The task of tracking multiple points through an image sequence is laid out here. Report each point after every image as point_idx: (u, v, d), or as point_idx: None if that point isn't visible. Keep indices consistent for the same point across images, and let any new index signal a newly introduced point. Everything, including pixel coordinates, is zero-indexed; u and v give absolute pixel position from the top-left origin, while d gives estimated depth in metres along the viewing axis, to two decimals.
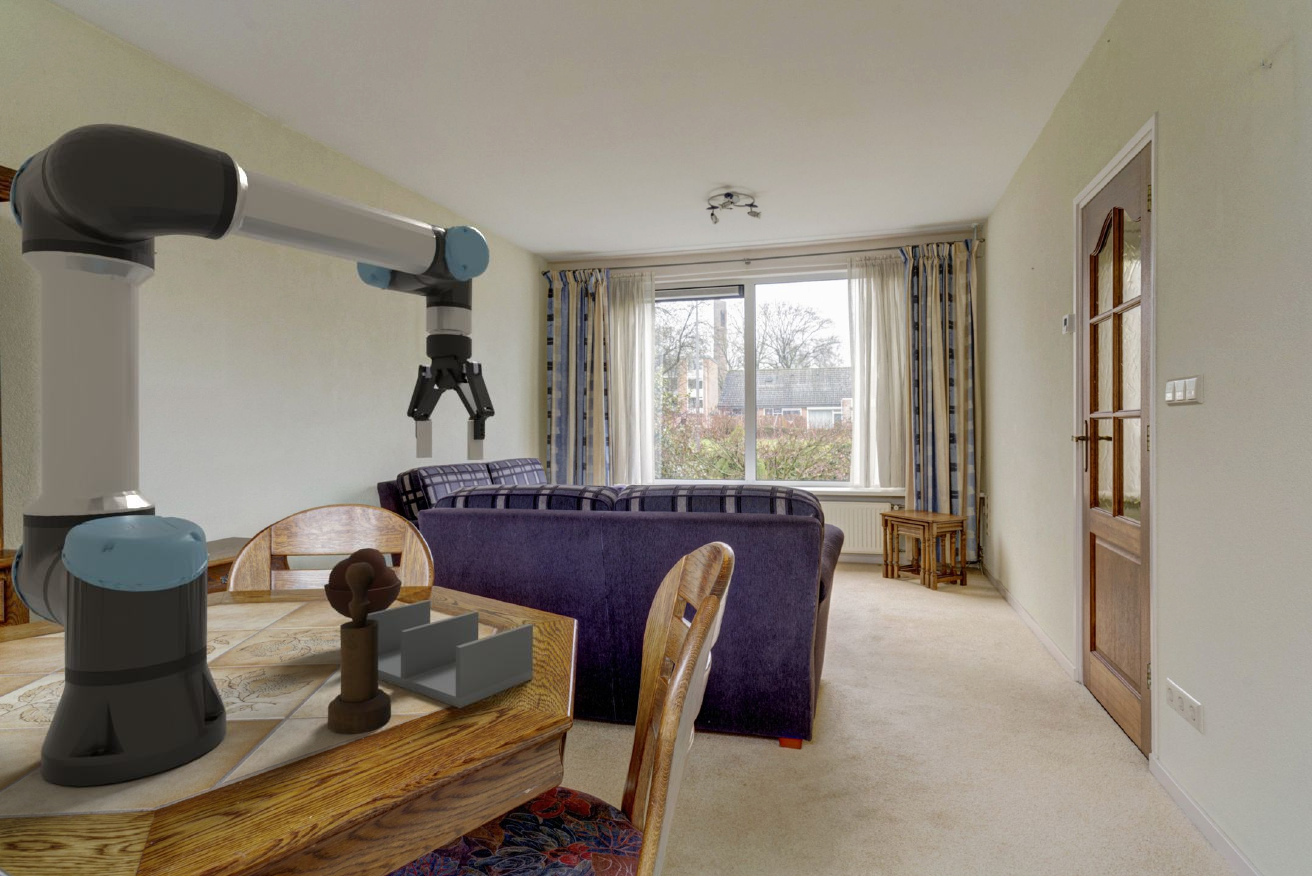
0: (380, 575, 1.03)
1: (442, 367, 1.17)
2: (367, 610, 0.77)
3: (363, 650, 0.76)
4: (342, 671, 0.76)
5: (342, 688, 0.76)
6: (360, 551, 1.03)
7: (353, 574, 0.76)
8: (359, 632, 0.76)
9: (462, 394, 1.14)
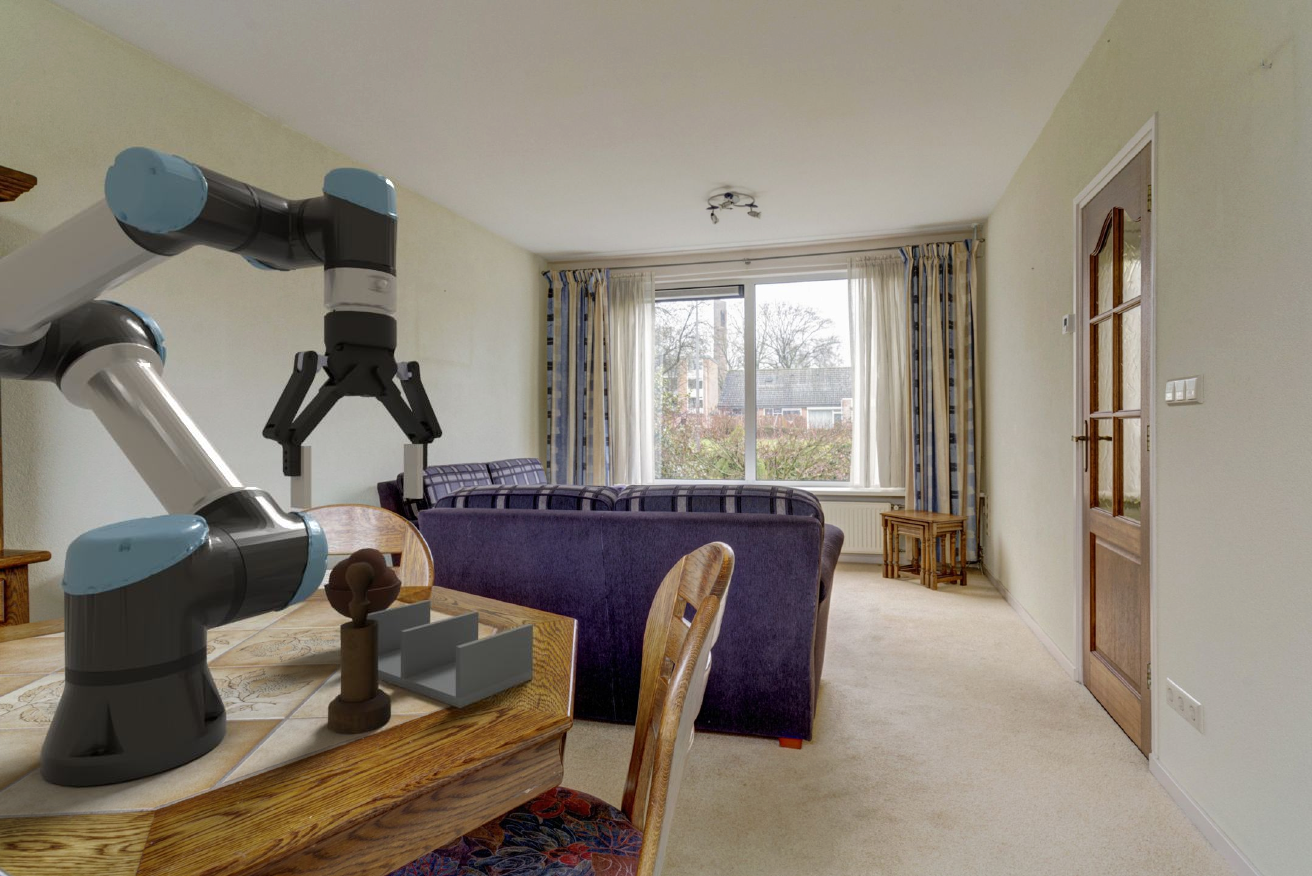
0: (380, 575, 1.03)
1: None
2: (367, 610, 0.77)
3: (363, 650, 0.76)
4: (342, 671, 0.76)
5: (342, 688, 0.76)
6: (360, 551, 1.03)
7: (353, 574, 0.76)
8: (359, 632, 0.76)
9: None
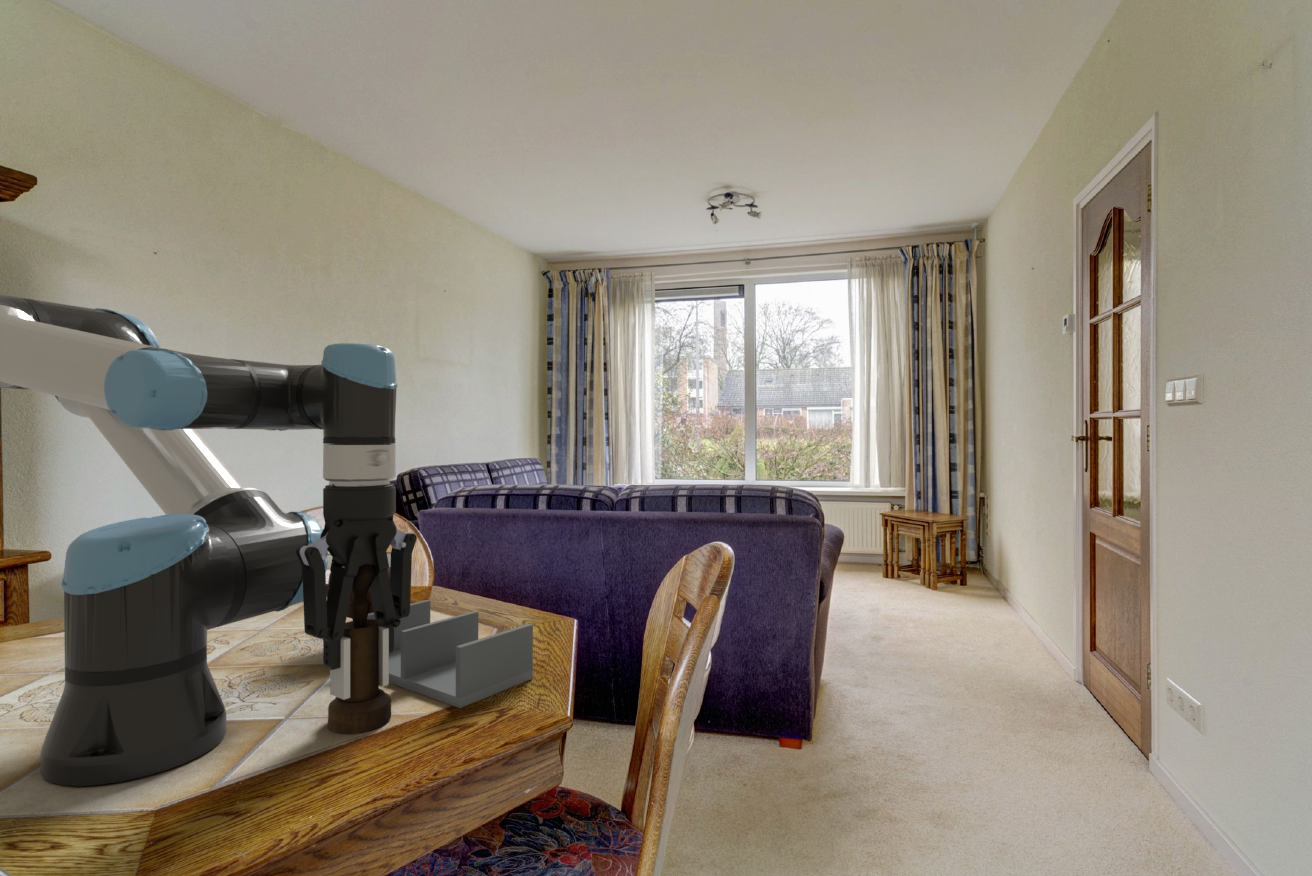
0: None
1: None
2: (367, 610, 0.77)
3: (363, 650, 0.76)
4: None
5: None
6: None
7: None
8: (359, 632, 0.76)
9: None
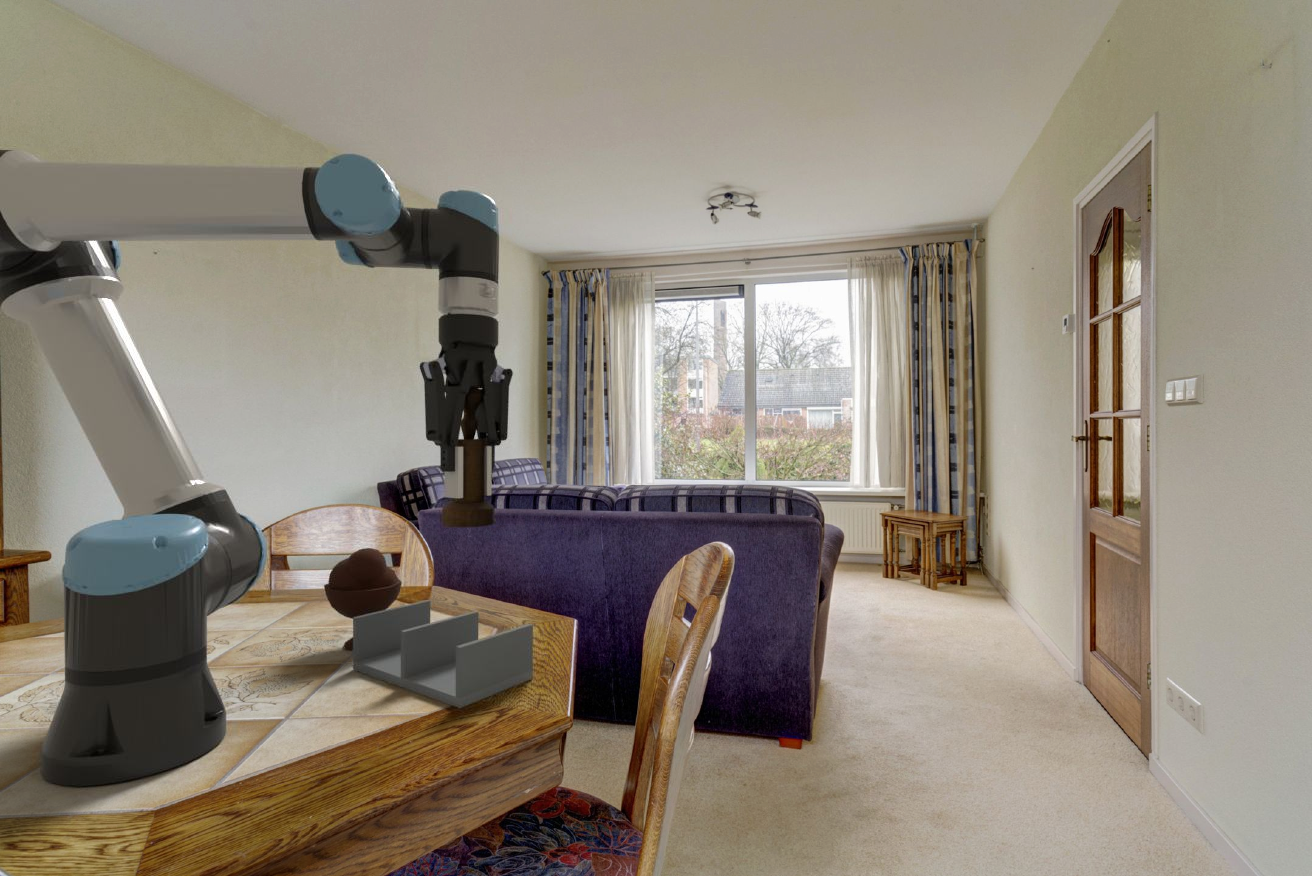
0: (380, 575, 1.03)
1: None
2: (476, 427, 0.89)
3: (474, 458, 0.88)
4: None
5: None
6: (360, 551, 1.03)
7: None
8: (471, 442, 0.87)
9: None
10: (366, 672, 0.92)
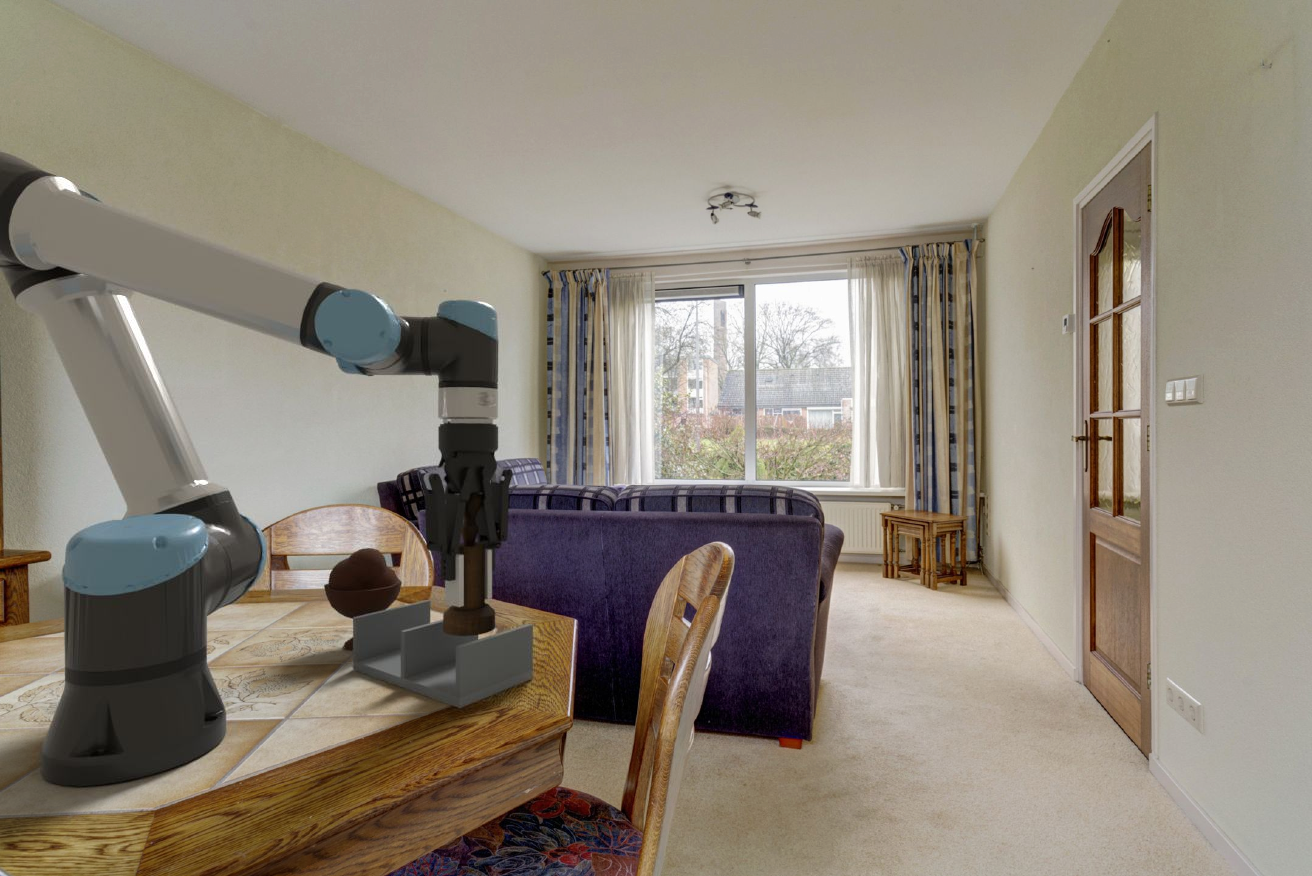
0: (380, 575, 1.03)
1: None
2: (476, 532, 0.89)
3: (474, 565, 0.88)
4: None
5: None
6: (360, 551, 1.03)
7: None
8: (471, 550, 0.88)
9: (446, 512, 0.88)
10: (366, 672, 0.92)
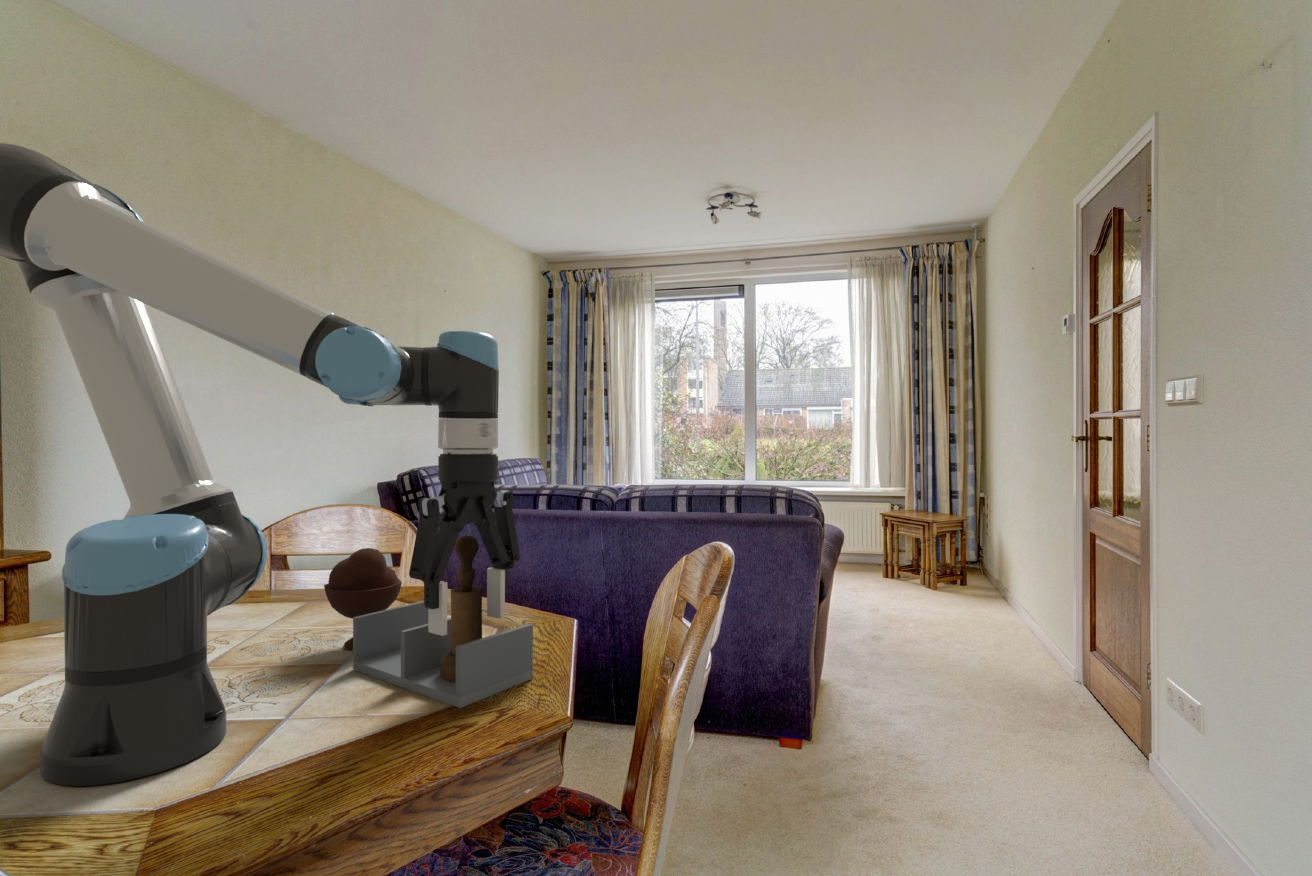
0: (380, 575, 1.03)
1: None
2: (473, 577, 0.89)
3: (471, 611, 0.88)
4: (453, 629, 0.88)
5: (453, 644, 0.88)
6: (360, 551, 1.03)
7: (462, 545, 0.88)
8: (468, 595, 0.87)
9: (437, 539, 0.87)
10: (366, 672, 0.92)
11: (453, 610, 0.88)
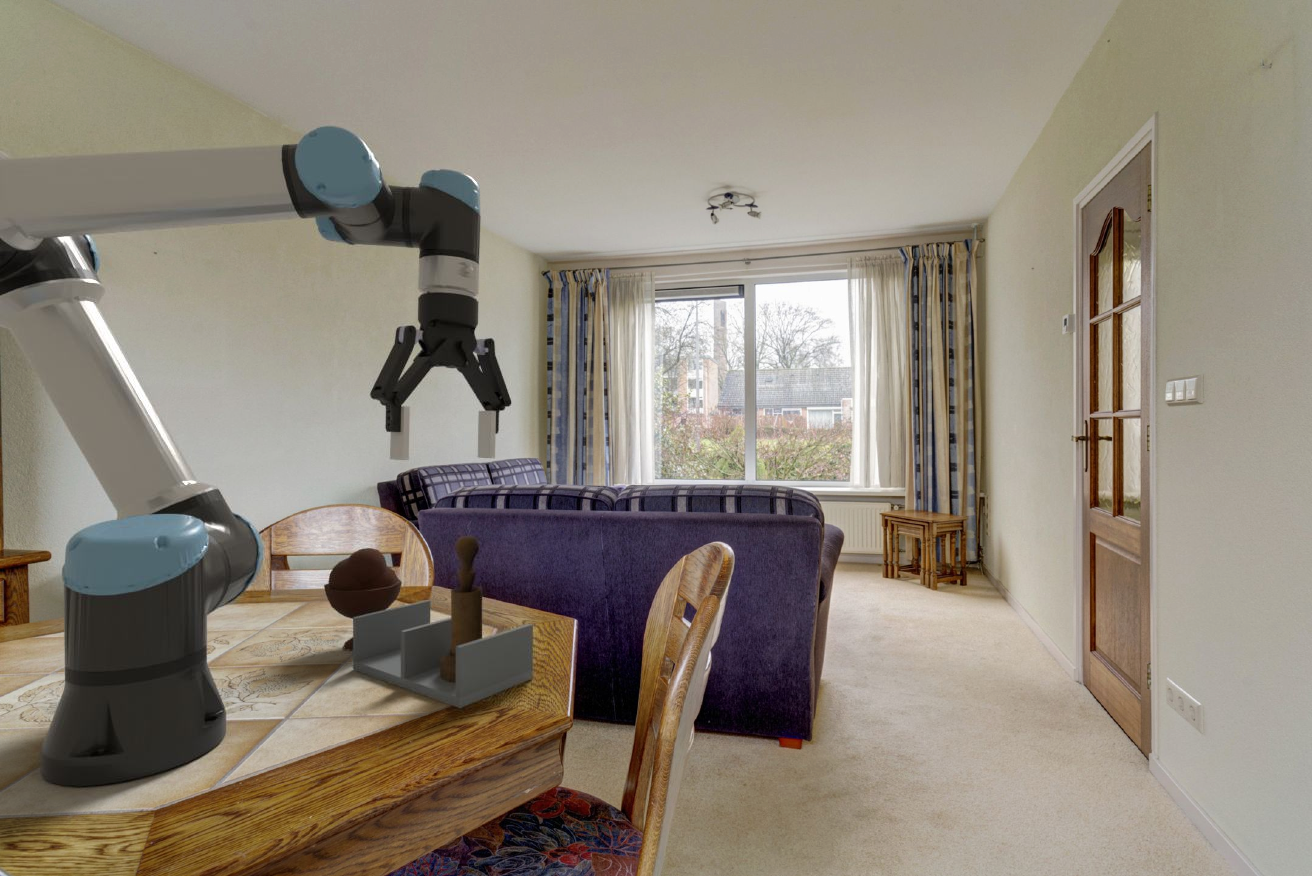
0: (380, 575, 1.03)
1: None
2: (473, 577, 0.89)
3: (472, 611, 0.88)
4: (453, 629, 0.88)
5: (453, 644, 0.88)
6: (360, 551, 1.03)
7: (463, 545, 0.88)
8: (468, 595, 0.87)
9: (408, 372, 0.86)
10: (366, 672, 0.92)
11: (453, 610, 0.88)
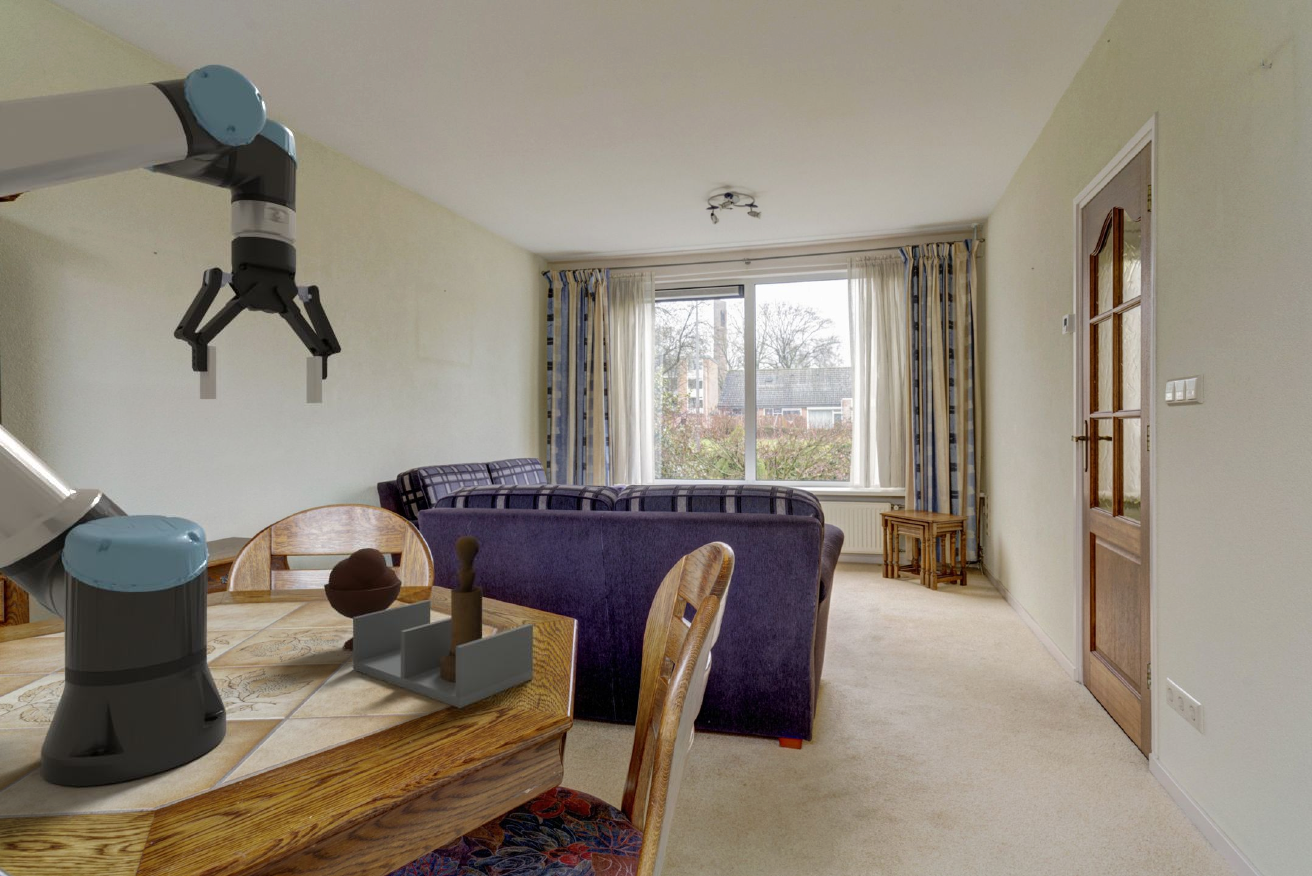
0: (380, 575, 1.03)
1: None
2: (474, 577, 0.89)
3: (472, 611, 0.88)
4: (453, 629, 0.88)
5: (453, 644, 0.88)
6: (360, 551, 1.03)
7: (463, 545, 0.88)
8: (469, 595, 0.87)
9: None
10: (366, 672, 0.92)
11: (453, 610, 0.88)
